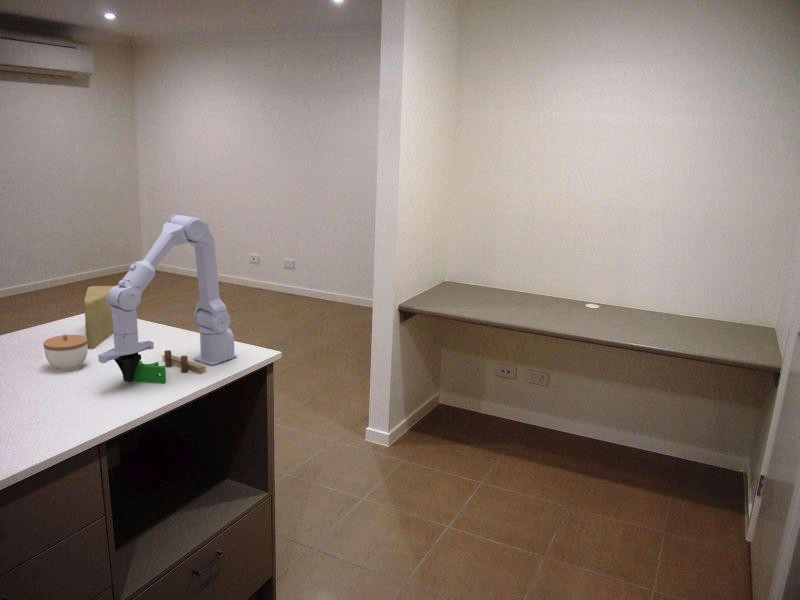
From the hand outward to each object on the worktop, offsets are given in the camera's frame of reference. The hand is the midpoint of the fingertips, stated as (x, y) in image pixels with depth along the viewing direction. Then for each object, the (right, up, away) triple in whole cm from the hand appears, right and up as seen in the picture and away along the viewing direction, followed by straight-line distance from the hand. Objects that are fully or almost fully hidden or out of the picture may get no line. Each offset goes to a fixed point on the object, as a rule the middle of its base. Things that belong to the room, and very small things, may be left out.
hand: (129, 381), depth 159 cm
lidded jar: (-22, +2, +10) cm, 24 cm away
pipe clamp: (+3, 0, +4) cm, 5 cm away
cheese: (-25, +9, +35) cm, 44 cm away
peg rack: (+8, +2, +13) cm, 15 cm away
